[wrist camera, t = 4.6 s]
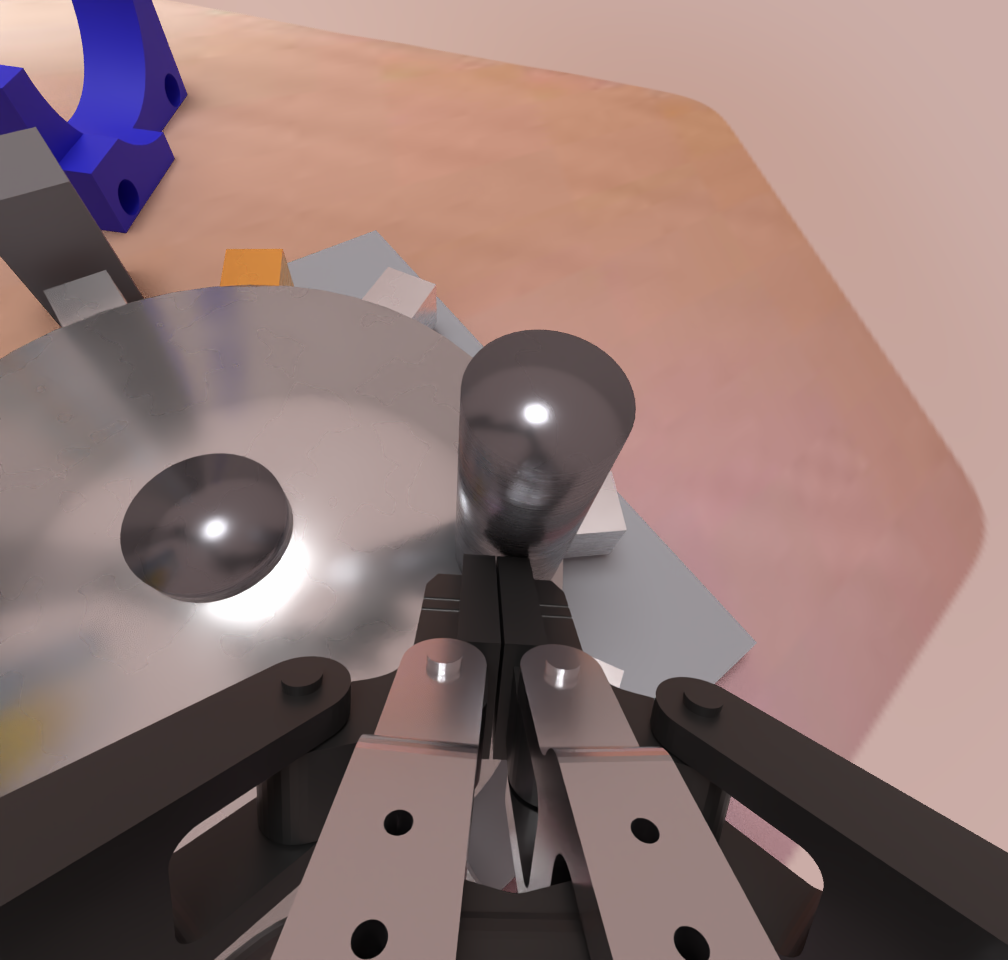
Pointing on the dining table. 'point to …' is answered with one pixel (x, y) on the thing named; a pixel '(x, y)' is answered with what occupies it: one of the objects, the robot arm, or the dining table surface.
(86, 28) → the cable clip
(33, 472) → the sprocket
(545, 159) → the dining table surface
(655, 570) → the sprocket stand
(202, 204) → the dining table surface
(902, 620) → the dining table surface
